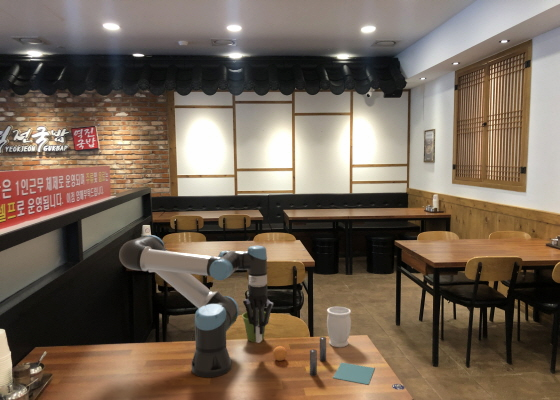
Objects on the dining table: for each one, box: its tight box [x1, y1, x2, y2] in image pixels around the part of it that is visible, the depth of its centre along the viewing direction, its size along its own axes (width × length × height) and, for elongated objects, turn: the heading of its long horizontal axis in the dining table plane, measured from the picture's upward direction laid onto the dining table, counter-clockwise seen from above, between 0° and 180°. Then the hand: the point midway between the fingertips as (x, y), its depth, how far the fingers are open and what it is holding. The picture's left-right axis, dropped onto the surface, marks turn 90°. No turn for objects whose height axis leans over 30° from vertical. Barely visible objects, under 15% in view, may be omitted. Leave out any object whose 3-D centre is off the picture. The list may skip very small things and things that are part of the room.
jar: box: [326, 306, 352, 348], centre depth 185 cm, size 11×10×15 cm
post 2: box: [319, 336, 327, 362], centre depth 170 cm, size 3×3×9 cm
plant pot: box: [241, 310, 266, 343], centre depth 191 cm, size 12×12×11 cm
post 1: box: [309, 349, 318, 377], centre depth 158 cm, size 3×3×9 cm
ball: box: [272, 345, 288, 362], centre depth 170 cm, size 6×6×6 cm
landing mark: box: [332, 362, 375, 386], centre depth 159 cm, size 13×13×1 cm
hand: (259, 341), depth 173 cm, fingers closed
